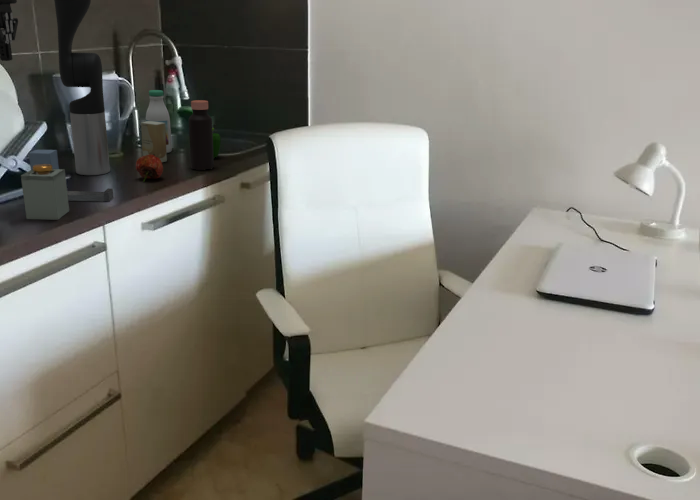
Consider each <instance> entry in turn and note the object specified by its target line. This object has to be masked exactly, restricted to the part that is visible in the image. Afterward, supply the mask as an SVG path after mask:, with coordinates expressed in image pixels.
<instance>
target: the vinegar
mask: <svg viewBox="0 0 700 500" xmlns="http://www.w3.org/2000/svg"><path fill="white" fill-rule="evenodd" d="M190 107H191V108H190V109H191V111H192V114H191V115H190V116H189V118H188V134H189V135H188V136H189V152H190V153H189V155H190V156H189V158H190V168H191V169H192V170H193V169H196V170H195V171H200V170H204V169H211V168H213V167H214V166H215V162H214V159H215V158H213V131H214V130H213V131H212V128H213V118H212V117H211V116H210V114H208V111H209V101H208V100H204V99H203V100H202V99H200V100H199V99H197V100H191V101H190ZM213 169H214V168H213ZM211 170H212V169H211ZM204 171H205V170H204Z"/></svg>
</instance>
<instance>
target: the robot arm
mask: <svg viewBox="0 0 700 500" xmlns="http://www.w3.org/2000/svg"><path fill="white" fill-rule="evenodd" d="M91 2H92V0H54V8H55V14H56V15H55V16H56V24H57V27H56V28H57V42H58V45H57V47H58V48H57V49H58V68H59V76H60V80H61V83H62V85H63V86H65V87H67V88H90V91H89V92H88V94H86V95H85V96H82V97H80V98H76V99H73V100H71V101H70V102H69V103H68V104H69V105H68V106H69V116H70V117H69V118H70V125H71V134H72V135H71V136H72V143H73V144H72V145H73V152H74V155H73V156H74V165H75V172H76V174H78V175H81V176H83V175H84V176H98V175H105V174H107V173H110V171H111V166H110V155H109V153H110V152H109V146H108V145H109V144H108V134H107V132H108V131H107V123H106V121H107V120H106V112H105V111H106V110H105V109H106V108H105V100H104V86H103V85H104V84H103V83H104V82H103V66H102V65H103V64H102V59H101V57H100V56H99V54H98V53H95V52H72V47H73V41H74V39H75V34H76V33H77V30H78V29H79V26H80V24H81V23H82V21H83V20H84V18H85V16H86V14H87V13H88V11H89V8H90V6H91ZM17 3H18V1H17V0H0V61H4V62H11V61H12V60H13V52H12V43H13V41H16V36H17V30H18V24H19V19H18V18H17V17H14V16H13V15H14V14H13V10H12V6H11V5H12V4H13V5H15V4H17Z"/></svg>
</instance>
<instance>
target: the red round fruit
mask: <svg viewBox="0 0 700 500" xmlns="http://www.w3.org/2000/svg"><path fill="white" fill-rule="evenodd" d="M135 170H136V171H137V173H139V176H140V177H141V178H143V181H142V182H143V183H145V181H146V180H147V179H152V180H156V179H159V178H161V176H162V174H163V173H164V166H163V162H161V160H160V159H159V158H158V157H155V154H153V155H151V154H149V155H145V156H143V155H142V156H140V157H138V159H136V162H135Z"/></svg>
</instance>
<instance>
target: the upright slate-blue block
mask: <svg viewBox="0 0 700 500" xmlns="http://www.w3.org/2000/svg"><path fill="white" fill-rule="evenodd" d="M28 156H29V157H28V159H29V166H30V170H32V169H33V166H34V165H39V164H50V165H52V169H60V167H59V157H58V150H57V149H34V150H32V151H30V152H28Z"/></svg>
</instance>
